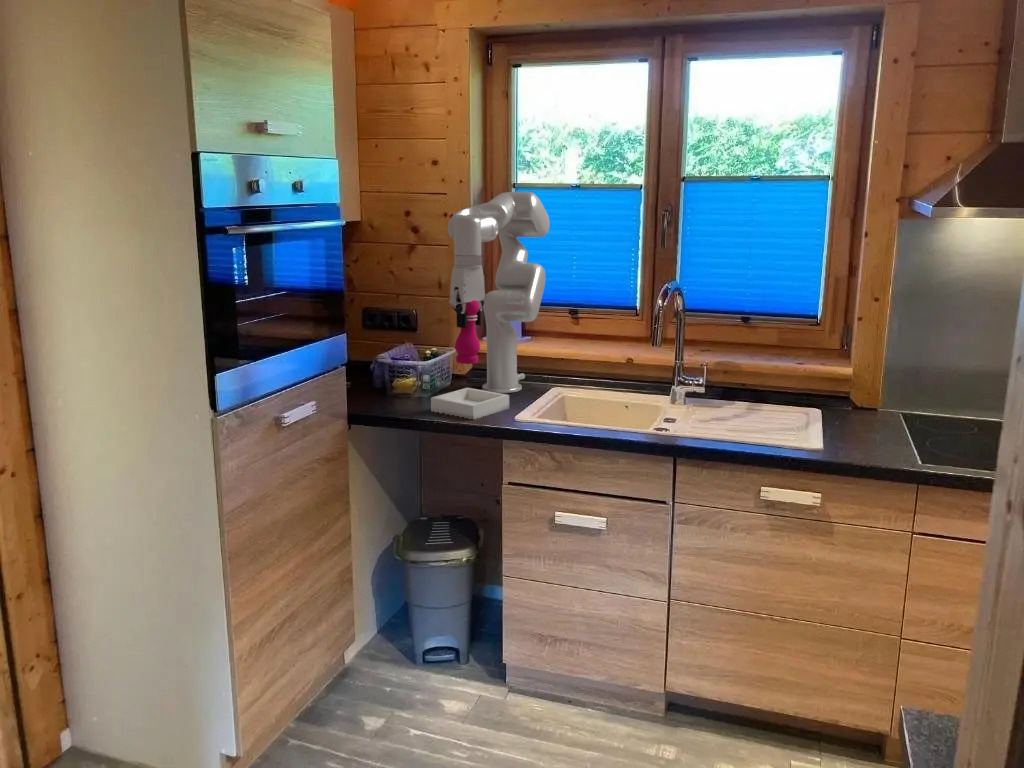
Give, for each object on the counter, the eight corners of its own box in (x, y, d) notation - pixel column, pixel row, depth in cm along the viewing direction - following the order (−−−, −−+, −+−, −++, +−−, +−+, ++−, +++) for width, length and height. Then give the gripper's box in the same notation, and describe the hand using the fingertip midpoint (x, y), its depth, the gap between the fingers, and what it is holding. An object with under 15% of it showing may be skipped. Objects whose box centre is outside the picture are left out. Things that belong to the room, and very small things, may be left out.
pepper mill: (479, 364, 234) (481, 293, 230) (453, 363, 234) (455, 292, 230) (480, 360, 241) (482, 291, 237) (455, 359, 241) (457, 290, 237)
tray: (467, 400, 252) (467, 387, 251) (509, 408, 243) (509, 395, 242) (431, 411, 240) (430, 397, 239) (473, 420, 230) (473, 405, 229)
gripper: (477, 259, 241) (478, 321, 245) (437, 263, 227) (438, 328, 231) (497, 260, 236) (498, 323, 240) (457, 264, 223) (458, 331, 227)
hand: (469, 325), depth 236 cm, fingers closed on pepper mill, 5 cm apart
